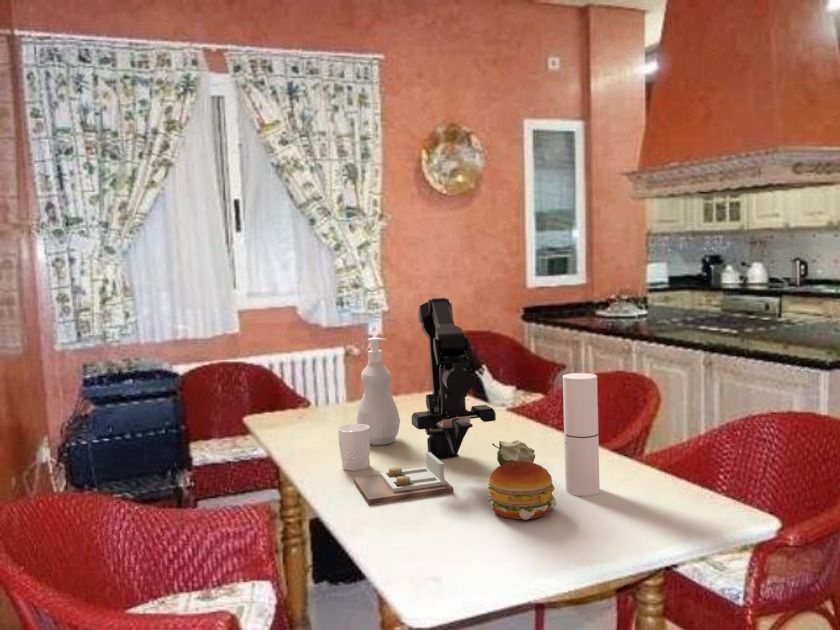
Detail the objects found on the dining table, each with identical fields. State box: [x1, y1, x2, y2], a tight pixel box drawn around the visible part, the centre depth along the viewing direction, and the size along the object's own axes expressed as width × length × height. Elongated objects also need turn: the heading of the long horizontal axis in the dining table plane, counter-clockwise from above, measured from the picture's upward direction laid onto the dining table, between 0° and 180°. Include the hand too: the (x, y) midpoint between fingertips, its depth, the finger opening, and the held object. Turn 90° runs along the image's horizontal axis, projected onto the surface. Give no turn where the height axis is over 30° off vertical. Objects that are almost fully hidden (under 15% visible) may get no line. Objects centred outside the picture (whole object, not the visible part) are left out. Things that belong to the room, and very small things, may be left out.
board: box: [352, 466, 454, 506], centre depth 161 cm, size 19×16×3 cm
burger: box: [487, 461, 557, 520], centre depth 143 cm, size 14×14×10 cm
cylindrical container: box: [562, 372, 601, 497], centre depth 152 cm, size 7×7×25 cm
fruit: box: [491, 440, 536, 466], centre depth 171 cm, size 9×9×8 cm
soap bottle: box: [356, 337, 401, 446], centre depth 200 cm, size 17×12×29 cm
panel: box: [379, 451, 447, 492], centre depth 161 cm, size 12×12×4 cm
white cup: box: [337, 423, 371, 472], centre depth 177 cm, size 8×8×10 cm
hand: (455, 453), depth 164 cm, fingers closed
